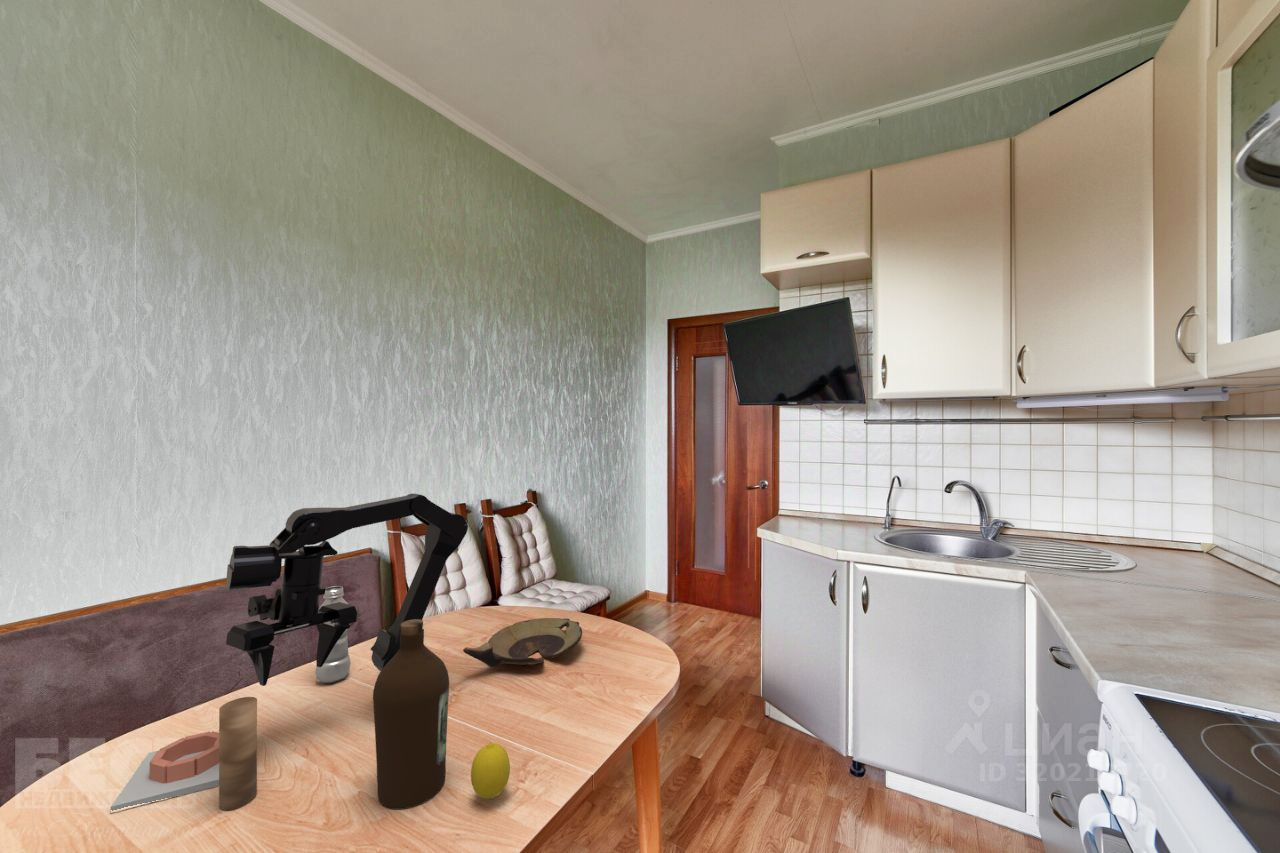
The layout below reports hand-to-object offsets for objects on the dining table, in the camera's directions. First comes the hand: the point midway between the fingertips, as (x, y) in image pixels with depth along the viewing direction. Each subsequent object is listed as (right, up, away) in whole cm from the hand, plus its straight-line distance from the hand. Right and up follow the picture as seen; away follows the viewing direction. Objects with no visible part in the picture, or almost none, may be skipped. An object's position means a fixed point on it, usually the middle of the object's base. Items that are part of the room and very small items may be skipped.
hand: (292, 675), depth 87 cm
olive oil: (+25, -13, -10) cm, 29 cm away
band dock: (-13, -13, -5) cm, 19 cm away
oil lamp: (+32, -13, +36) cm, 50 cm away
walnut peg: (0, -13, -12) cm, 17 cm away
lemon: (+37, -13, -12) cm, 41 cm away
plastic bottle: (-8, -13, +25) cm, 30 cm away
